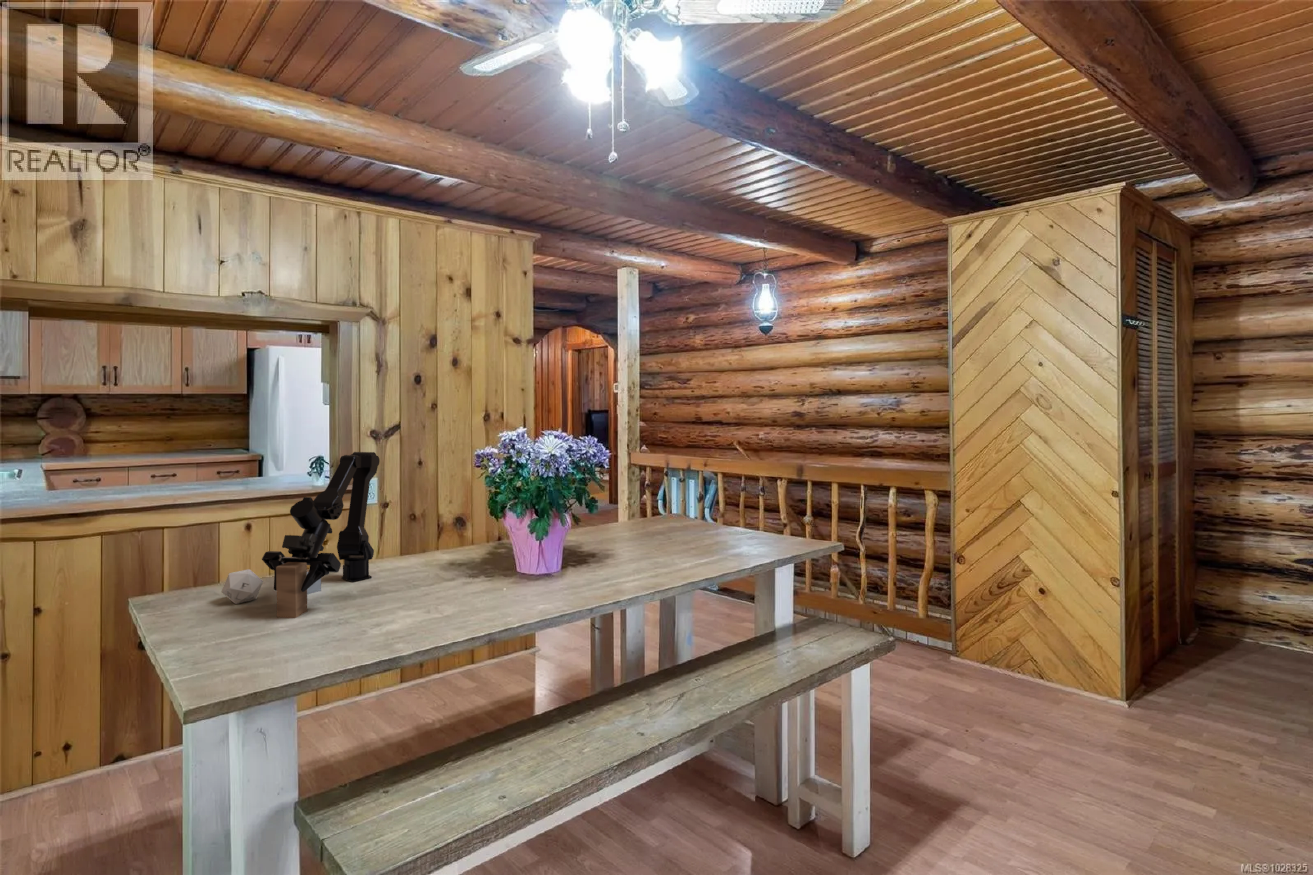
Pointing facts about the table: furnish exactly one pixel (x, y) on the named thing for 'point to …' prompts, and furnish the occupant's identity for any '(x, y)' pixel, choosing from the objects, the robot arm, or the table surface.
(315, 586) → the slate cube
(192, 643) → the table surface
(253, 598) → the die
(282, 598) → the walnut block
